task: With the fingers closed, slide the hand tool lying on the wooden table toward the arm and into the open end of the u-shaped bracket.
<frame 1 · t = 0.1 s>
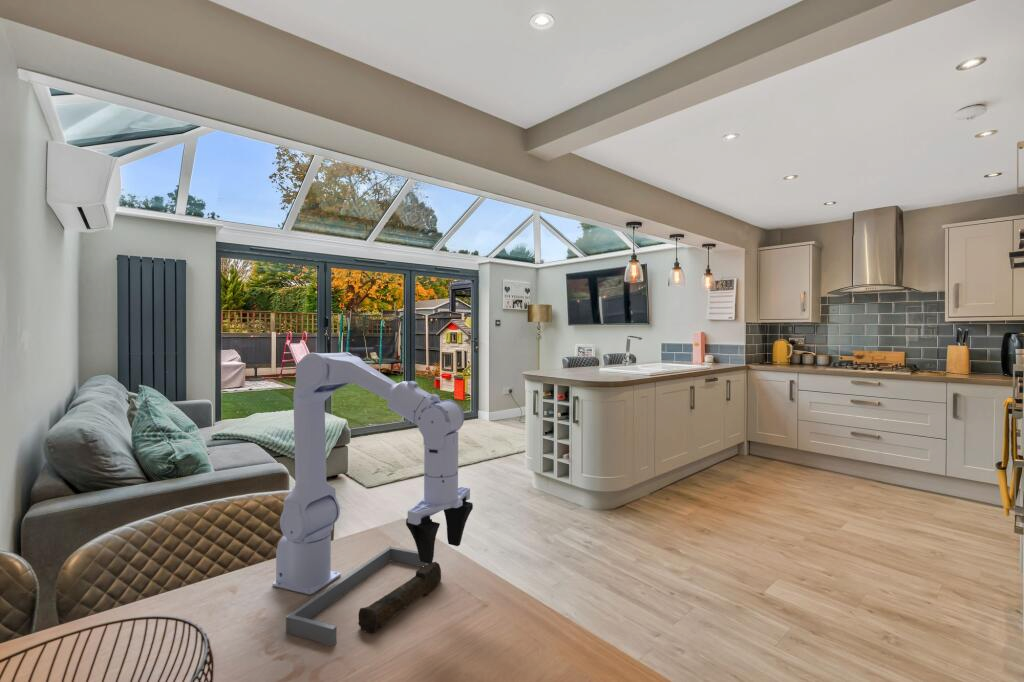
hand: (440, 552, 81), 10 cm above the table, tool pointing down, fingers open, 7 cm apart
u-shaped bracket: (366, 594, 86), on the table
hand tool: (404, 606, 83), on the table
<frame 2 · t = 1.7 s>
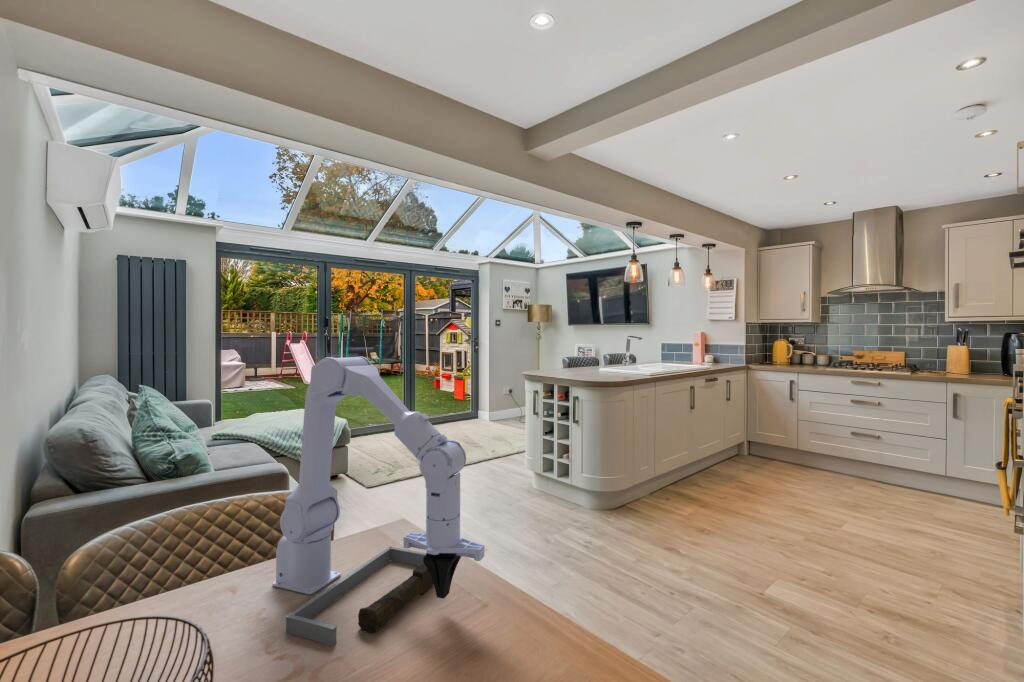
hand: (442, 595, 80), 3 cm above the table, tool pointing down, fingers closed
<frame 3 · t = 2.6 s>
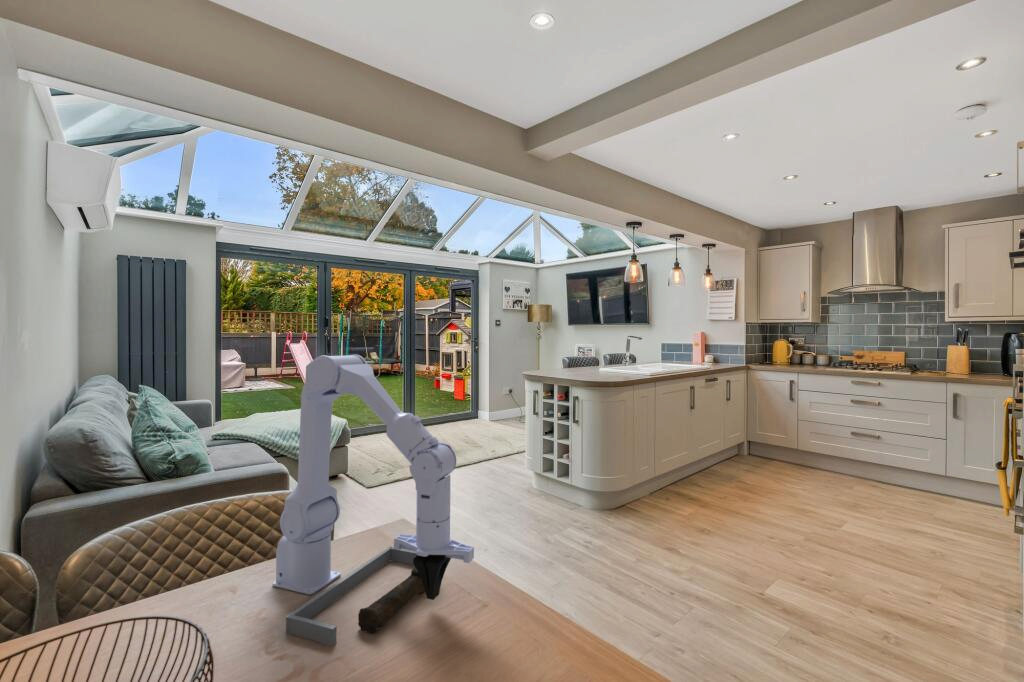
hand: (432, 596, 81), 2 cm above the table, tool pointing down, fingers closed
nothing on the table moved.
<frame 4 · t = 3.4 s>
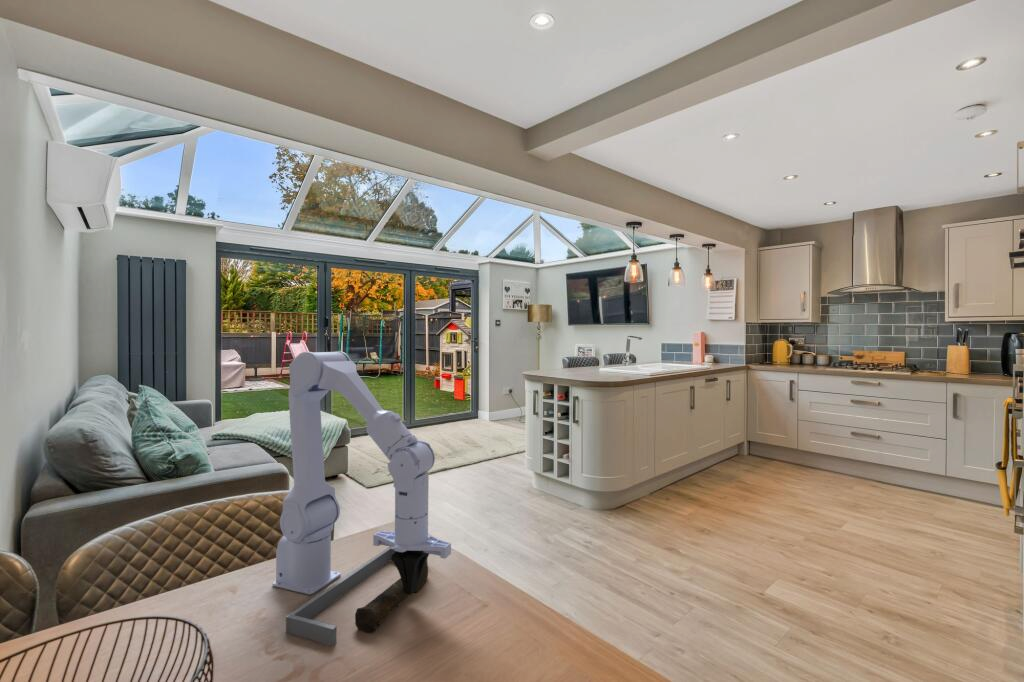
hand: (411, 591, 83), 2 cm above the table, tool pointing down, fingers closed
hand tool: (396, 604, 84), on the table, touching gripper
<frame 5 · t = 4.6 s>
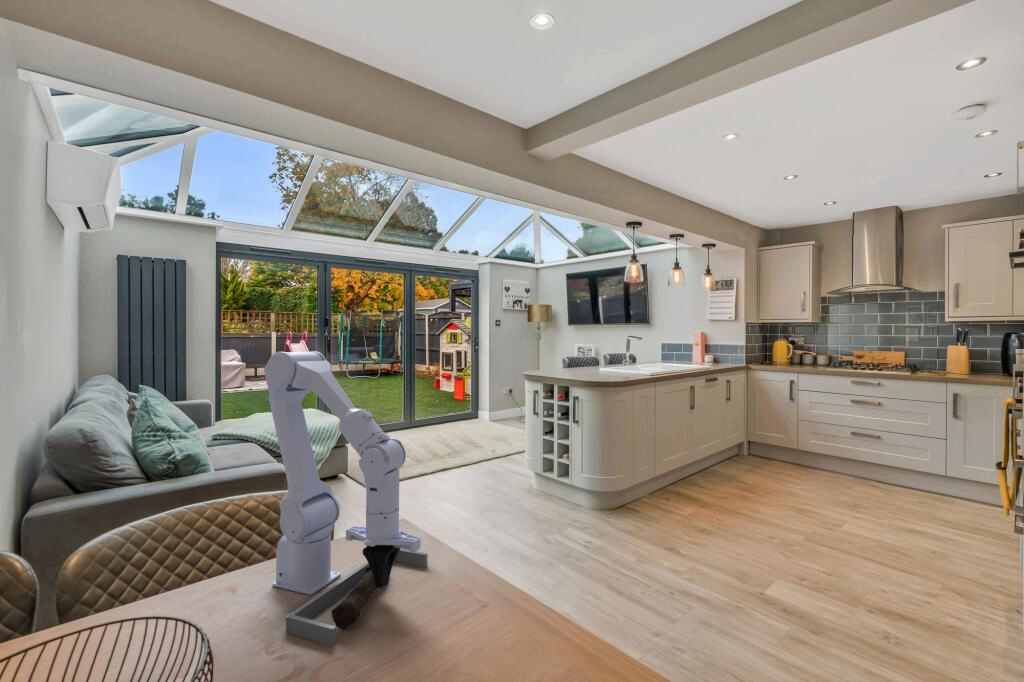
hand: (382, 585, 85), 2 cm above the table, tool pointing down, fingers closed
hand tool: (369, 600, 84), on the table, touching gripper
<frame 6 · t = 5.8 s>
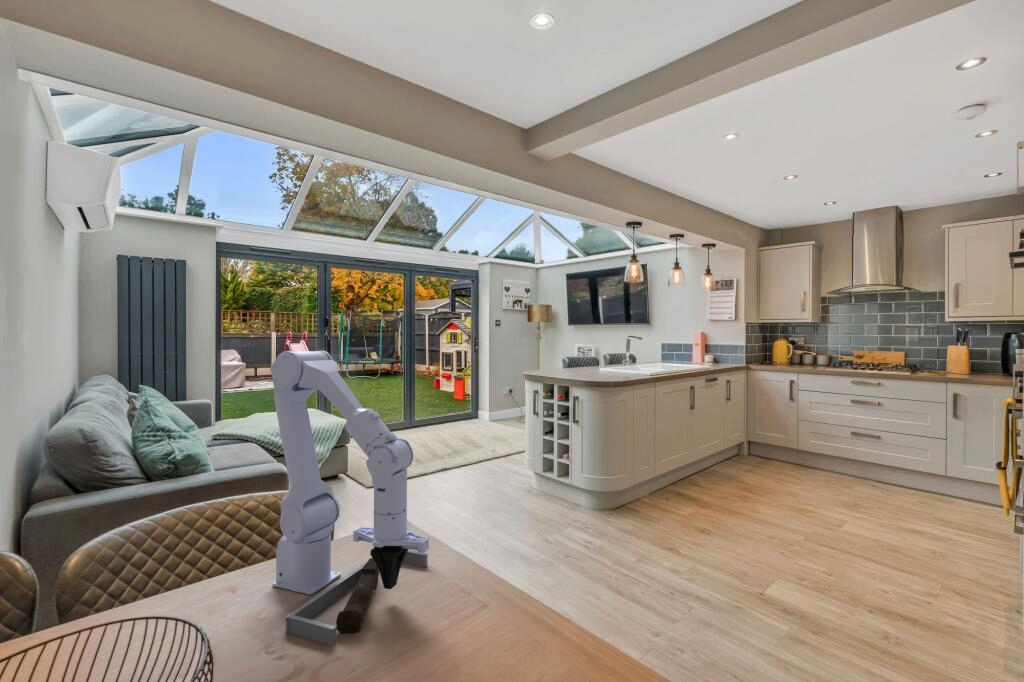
hand: (390, 586, 84), 2 cm above the table, tool pointing down, fingers closed
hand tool: (360, 604, 84), on the table
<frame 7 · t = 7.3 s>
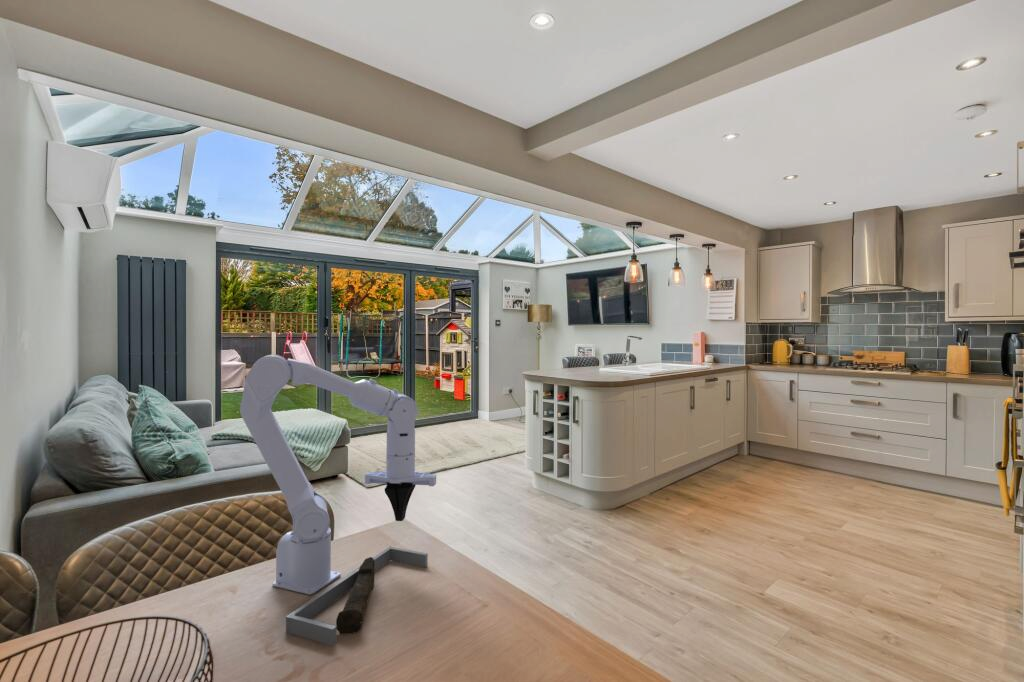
hand: (400, 519, 97), 9 cm above the table, tool pointing down, fingers closed
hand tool: (358, 604, 84), on the table, touching u-shaped bracket
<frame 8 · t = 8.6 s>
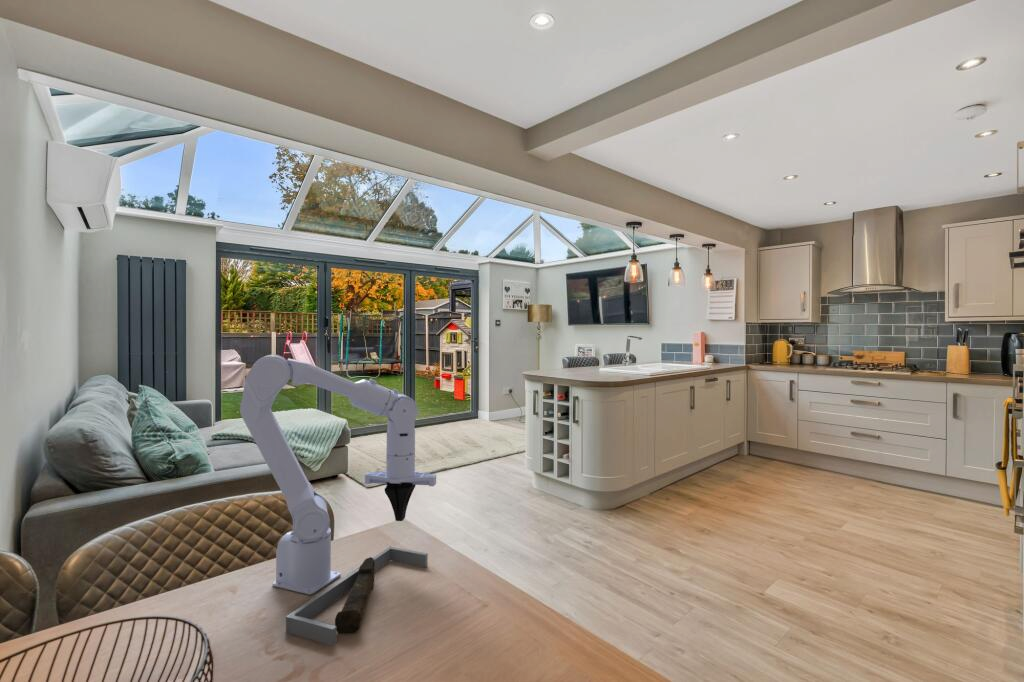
hand: (400, 519, 97), 9 cm above the table, tool pointing down, fingers closed
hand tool: (357, 604, 83), on the table
at the end: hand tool inside the target area on the u-shaped bracket (2.5 cm from its centre), point -0.5 cm above the u-shaped bracket's base; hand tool moved 8.4 cm from its start; the gripper is holding nothing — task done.
